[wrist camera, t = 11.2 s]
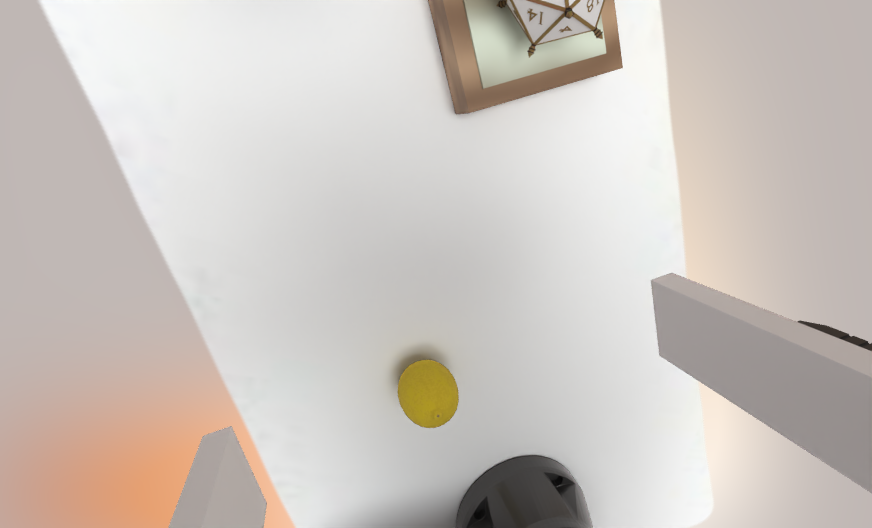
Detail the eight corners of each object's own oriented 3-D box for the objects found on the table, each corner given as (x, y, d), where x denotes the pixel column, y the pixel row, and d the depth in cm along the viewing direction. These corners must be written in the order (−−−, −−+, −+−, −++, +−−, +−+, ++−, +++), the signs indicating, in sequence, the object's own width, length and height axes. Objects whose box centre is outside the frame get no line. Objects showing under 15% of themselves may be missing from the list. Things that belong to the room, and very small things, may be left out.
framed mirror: (596, 72, 44) (624, 67, 40) (455, 114, 42) (470, 112, 38) (571, -103, 40) (600, -129, 36) (412, -66, 38) (423, -89, 34)
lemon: (453, 381, 50) (477, 427, 42) (403, 404, 49) (419, 454, 42) (434, 337, 48) (456, 376, 40) (383, 360, 47) (396, 405, 40)
